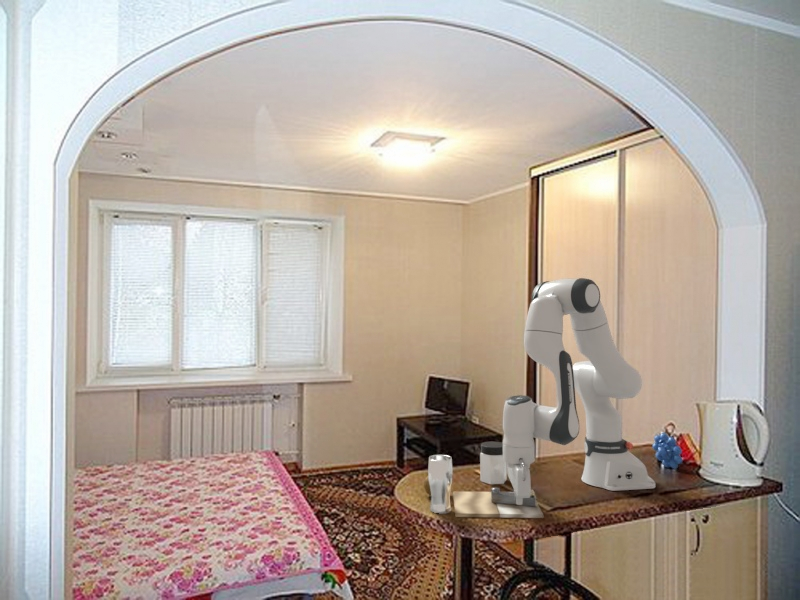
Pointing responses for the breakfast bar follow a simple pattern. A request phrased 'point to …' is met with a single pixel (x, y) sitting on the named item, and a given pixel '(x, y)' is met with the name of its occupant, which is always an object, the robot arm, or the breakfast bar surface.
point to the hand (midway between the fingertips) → (518, 503)
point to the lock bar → (510, 497)
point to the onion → (427, 486)
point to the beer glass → (440, 482)
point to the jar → (492, 463)
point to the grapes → (667, 450)
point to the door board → (490, 507)
